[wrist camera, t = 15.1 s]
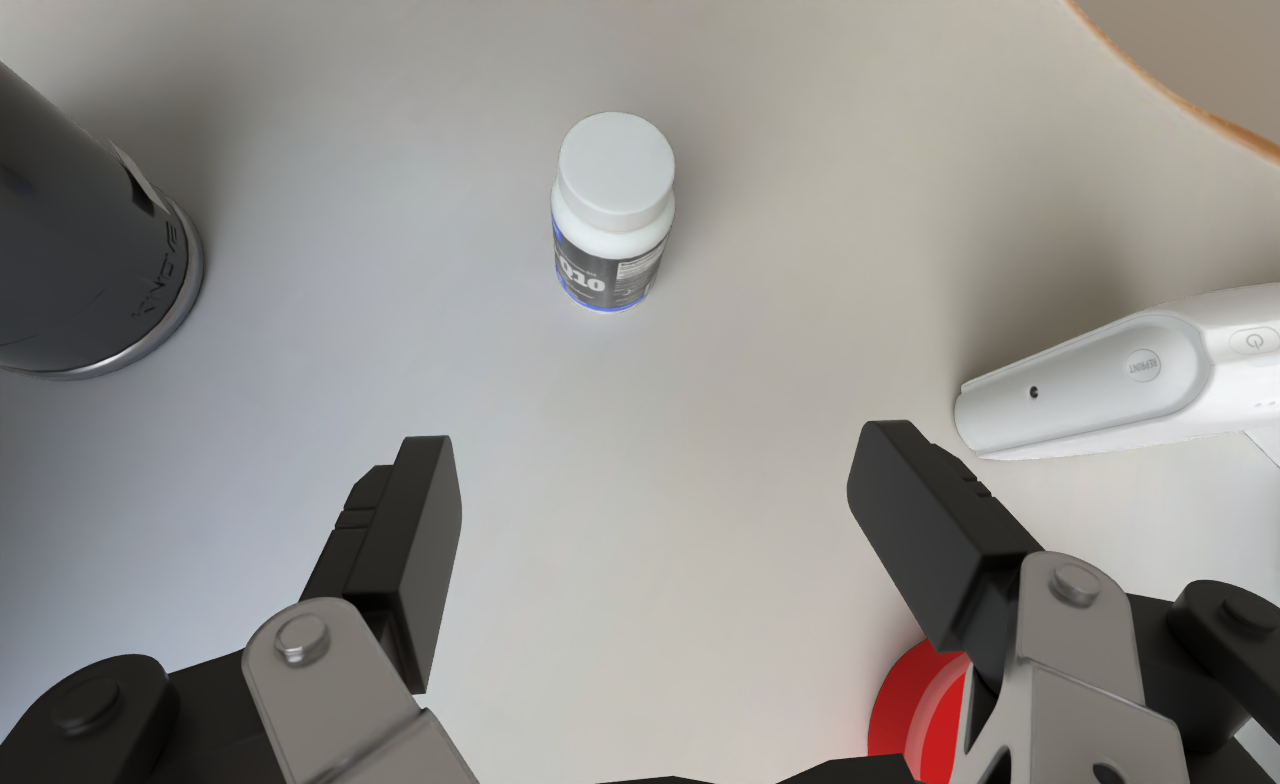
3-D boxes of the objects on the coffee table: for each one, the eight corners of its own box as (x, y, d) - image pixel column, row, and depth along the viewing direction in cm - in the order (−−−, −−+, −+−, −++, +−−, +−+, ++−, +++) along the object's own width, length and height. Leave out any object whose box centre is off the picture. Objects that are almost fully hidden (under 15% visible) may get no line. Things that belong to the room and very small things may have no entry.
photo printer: (961, 470, 27) (1262, 415, 15) (940, 380, 28) (1207, 262, 16) (1158, 449, 28) (1580, 383, 16) (1131, 364, 29) (1510, 244, 17)
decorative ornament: (833, 822, 23) (871, 865, 20) (913, 590, 25) (958, 597, 22) (1056, 941, 23) (1130, 1004, 20) (1115, 695, 25) (1189, 716, 22)
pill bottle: (535, 259, 28) (517, 141, 19) (615, 208, 29) (629, 76, 20) (596, 336, 27) (603, 248, 19) (676, 281, 28) (714, 176, 20)
